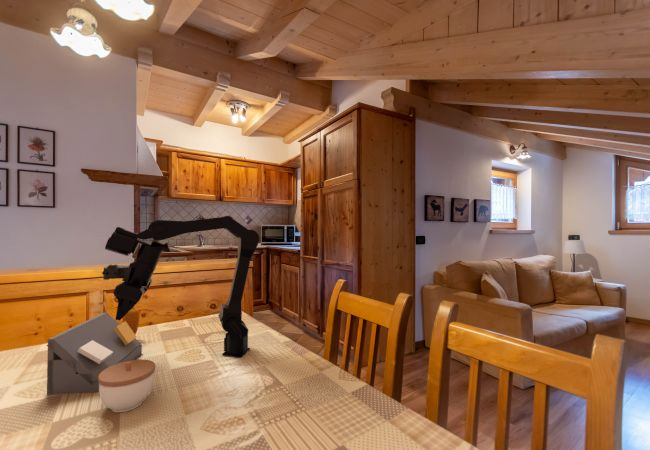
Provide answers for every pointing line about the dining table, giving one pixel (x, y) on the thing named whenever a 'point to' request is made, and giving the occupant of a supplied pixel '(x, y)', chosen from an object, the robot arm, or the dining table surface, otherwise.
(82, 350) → the block
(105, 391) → the lidded jar
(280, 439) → the dining table surface
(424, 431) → the dining table surface
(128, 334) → the block
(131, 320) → the carrot
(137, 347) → the switch console
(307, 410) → the dining table surface
